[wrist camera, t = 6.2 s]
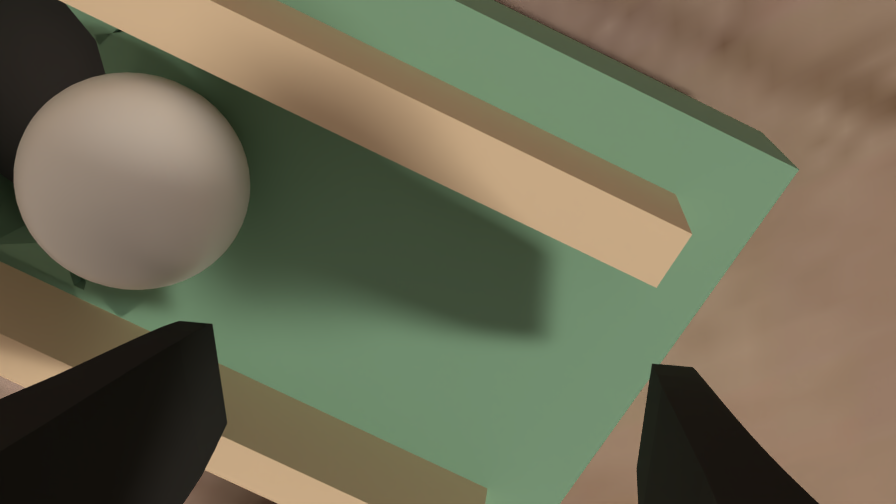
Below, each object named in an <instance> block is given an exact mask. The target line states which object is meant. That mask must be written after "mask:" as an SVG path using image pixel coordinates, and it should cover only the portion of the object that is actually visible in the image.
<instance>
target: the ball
mask: <svg viewBox="0 0 896 504" xmlns="http://www.w3.org/2000/svg"><path fill="white" fill-rule="evenodd" d="M14 190H15V196H16V202H17V205H18V207H19V210H20V213H21V216H22V219H23V221H24V223H25V225H26V226H27V228H28V230H29V232H30V234H31V235H32V236H33V238H34V239H35V240H36V242H37V243H38V244H39V246H40V247H41V248H42V249H43V250H44V251H45V252H46V253H47V254H48V255H49V256H50V257H51V258H52V259H53V260H55V261H56V262H57V263H59V264H60V265H61V266H62V267H64V268H65V269H67V270H69V271H70V272H72V273H74V274H75V275H77V276H79V277H82V278H84V279H86V280H89V281H91V282H94V283H97V284H101V285H104V286H108V287H113V288H119V289H127V290H145V289H155V288H160V287H165V286H170V285H173V284H176V283H179V282H182V281H185V280H187V279H189V278H191V277H193V276H195V275H197V274H199V273H200V272H202V271H203V270H204V269H206V268H207V267H209V266H210V265H212V264H213V263H214V262H215V261H216V260H217V259H218V258H219V257H220V256H222V255H223V253H224V252H225V251H226V250H227V249H228V248H229V246H230V245H231V244H232V242H233V241H234V239H235V238H236V236H237V234H238V232H239V230H240V228H241V226H242V224H243V221H244V218H245V216H246V213H247V209H248V203H249V198H250V175H249V167H248V163H247V158H246V155H245V152H244V149H243V147H242V144H241V142H240V140H239V138H238V136H237V134H236V133H235V131H234V129H233V128H232V127H231V125H230V124H229V122H228V121H227V119H226V118H225V117H224V116H223V115H222V114H221V113H220V111H219V110H218V109H217V108H216V107H215V106H214V105H212V104H211V103H210V102H209V101H208V100H206V99H205V98H204V97H202V96H201V95H199V94H198V93H196V92H195V91H193V90H191V89H189V88H187V87H185V86H183V85H181V84H179V83H177V82H175V81H172V80H169V79H166V78H163V77H160V76H155V75H150V74H144V73H130V72H123V73H110V74H104V75H100V76H95V77H91V78H88V79H86V80H83V81H80V82H78V83H76V84H73V85H71V86H69V87H68V88H66V89H64V90H63V91H61V92H60V93H58V94H57V95H55V96H54V97H53V98H51V99H50V100H49V101H48V102H47V103H45V104H44V105H43V106H42V107H41V109H40V110H39V111H38V112H37V113H36V114H35V116H34V117H33V118H32V120H31V121H30V123H29V124H28V126H27V128H26V129H25V132H24V134H23V136H22V138H21V140H20V143H19V146H18V149H17V153H16V158H15V163H14Z"/></svg>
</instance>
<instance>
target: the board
mask: <svg viewBox="0 0 896 504" xmlns="http://www.w3.org/2000/svg"><path fill="white" fill-rule="evenodd" d="M123 72H130V73H144V74H150V75H155V76H160V77H163V78H166V79H169V80H172V81H175V82H177V83H179V84H181V85H183V86H185V87H187V88H189V89H191V90H193V91H195V92H196V93H198V94H199V95H201V96H202V97H204V98H205V99H206V100H208V101H209V102H210V103H211V104H212V105H214V106H215V107H216V108H217V109H218V110H219V111H220V113H221V114H222V115H223V116H224V117H225V118H226V119H227V121H228V122H229V124H230V125H231V127H232V128H233V129H234V131H235V133H236V134H237V136H238V138H239V140H240V142H241V144H242V147H243V149H244V152H245V155H246V158H247V163H248V167H249V175H250V198H249V203H248V209H247V213H246V216H245V218H244V221H243V224H242V226H241V228H240V230H239V232H238V234H237V236H236V238H235V239H234V241H233V242H232V244H231V245H230V246H229V248H228V249H227V250H226V251H225V252H224V253H223V255H222V256H220V257H219V258H218V259H217V260H216V261H215V262H214V263H213V264H212V265H210V266H209V267H207V268H206V269H204V270H203V271H202V272H200V273H199V274H197V275H195V276H193V277H191V278H189V279H187V280H185V281H182V282H179V283H176V284H173V285H170V286H165V287H160V288H155V289H145V290H127V289H119V288H113V287H108V286H104V285H101V284H97V283H94V282H91V281H89V280H86V279H84V278H82V277H79V276H77V275H75V274H74V273H72V272H70V271H69V270H67V269H65V268H64V267H62V266H61V265H60V264H59V263H57V262H56V261H55V260H53V259H52V258H51V257H50V256H49V255H48V254H47V253H46V252H45V251H44V250H43V249H42V248H41V247H40V246H39V244H38V243H37V242H36V240H35V239H34V238H33V236H32V235H31V234H30V232H29V230H28V228H27V226H26V225H25V223H24V221H23V219H22V216H21V213H20V210H19V207H18V205H17V202H16V196H15V190H14V163H15V158H16V153H17V149H18V146H19V143H20V140H21V138H22V136H23V134H24V132H25V129H26V128H27V126H28V124H29V123H30V121H31V120H32V118H33V117H34V116H35V114H36V113H37V112H38V111H39V110H40V109H41V107H42V106H43V105H44V104H45V103H47V102H48V101H49V100H50V99H51V98H53V97H54V96H55V95H57V94H58V93H60V92H61V91H63V90H64V89H66V88H68V87H69V86H71V85H73V84H76V83H78V82H80V81H83V80H86V79H88V78H91V77H95V76H100V75H104V74H110V73H123ZM798 170H799V169H798V168H797V167H796V166H795V165H794V164H793V163H792V162H791V161H790V160H789V159H788V158H787V157H786V156H785V155H784V154H783V153H782V152H781V151H780V150H779V149H778V148H777V147H776V146H775V145H774V144H773V143H772V142H771V141H770V140H769V139H768V138H767V137H766V136H765V135H764V134H763V133H762V132H760V131H758V130H756V129H754V128H752V127H750V126H748V125H746V124H744V123H742V122H740V121H738V120H736V119H734V118H732V117H730V116H728V115H725V114H723V113H721V112H719V111H717V110H715V109H713V108H711V107H709V106H707V105H705V104H703V103H701V102H699V101H697V100H695V99H693V98H691V97H689V96H687V95H685V94H683V93H681V92H679V91H677V90H675V89H673V88H671V87H669V86H667V85H665V84H663V83H661V82H658V81H656V80H654V79H652V78H650V77H648V76H646V75H644V74H642V73H640V72H638V71H636V70H634V69H632V68H630V67H628V66H626V65H624V64H622V63H620V62H618V61H616V60H614V59H612V58H610V57H608V56H606V55H604V54H602V53H600V52H598V51H596V50H594V49H591V48H589V47H587V46H585V45H583V44H581V43H579V42H577V41H575V40H573V39H571V38H569V37H567V36H565V35H563V34H561V33H559V32H557V31H555V30H553V29H551V28H549V27H547V26H545V25H543V24H541V23H539V22H537V21H535V20H533V19H531V18H529V17H527V16H524V15H522V14H520V13H518V12H516V11H514V10H512V9H510V8H508V7H506V6H504V5H502V4H500V3H498V2H496V1H494V0H0V376H1V377H4V378H6V379H8V380H10V381H12V382H14V383H17V384H19V385H21V386H23V387H25V388H27V387H29V386H32V385H34V384H36V383H39V382H41V381H43V380H46V379H48V378H50V377H53V376H55V375H57V374H60V373H62V372H64V371H66V370H68V369H70V368H73V367H75V366H77V365H79V364H81V363H83V362H85V361H88V360H90V359H92V358H94V357H96V356H98V355H100V354H103V353H105V352H107V351H109V350H111V349H113V348H115V347H118V346H120V345H122V344H124V343H126V342H128V341H131V340H133V339H135V338H137V337H139V336H142V335H144V334H146V333H148V332H151V331H153V330H155V329H158V328H160V327H163V326H165V325H168V324H171V323H174V322H177V321H188V322H199V323H210V324H213V330H214V337H215V344H216V350H217V357H218V364H219V370H220V377H221V384H222V390H223V397H224V404H225V410H226V417H227V425H226V427H225V429H224V432H223V434H222V436H221V438H220V440H219V442H218V444H217V447H216V449H215V451H214V453H213V455H212V457H211V459H210V461H209V463H208V464H207V466H206V468H205V470H206V471H208V472H210V473H212V474H214V475H217V476H219V477H221V478H223V479H225V480H227V481H230V482H232V483H234V484H236V485H238V486H240V487H243V488H245V489H247V490H249V491H251V492H253V493H256V494H258V495H260V496H262V497H264V498H267V499H269V500H271V501H273V502H275V503H277V504H560V503H561V501H562V500H563V499H564V497H565V496H566V494H567V493H568V492H569V490H570V489H571V487H572V486H573V485H574V483H575V482H576V480H577V479H578V478H579V476H580V475H581V473H582V472H583V471H584V469H585V468H586V466H587V465H588V464H589V462H590V461H591V459H592V458H593V457H594V455H595V454H596V453H597V451H598V450H599V448H600V447H601V446H602V444H603V443H604V441H605V440H606V439H607V437H608V436H609V434H610V433H611V432H612V430H613V429H614V427H615V426H616V425H617V423H618V422H619V420H620V419H621V418H622V416H623V415H624V413H625V412H626V411H627V409H628V408H629V406H630V405H631V404H632V402H633V401H634V399H635V398H636V397H637V395H638V394H639V392H640V391H641V390H642V388H643V387H644V385H645V384H646V383H647V381H648V380H649V379H650V373H651V366H652V364H660V363H661V362H662V360H663V359H664V358H665V356H666V355H667V353H668V352H669V351H670V349H671V348H672V346H673V345H674V344H675V342H676V341H677V339H678V338H679V337H680V335H681V334H682V332H683V331H684V330H685V328H686V327H687V325H688V324H689V323H690V321H691V320H692V318H693V317H694V316H695V314H696V313H697V311H698V310H699V309H700V307H701V306H702V305H703V303H704V302H705V300H706V299H707V298H708V296H709V295H710V293H711V292H712V291H713V289H714V288H715V286H716V285H717V284H718V282H719V281H720V279H721V278H722V277H723V275H724V274H725V272H726V271H727V270H728V268H729V267H730V265H731V264H732V263H733V261H734V260H735V258H736V257H737V256H738V254H739V253H740V251H741V250H742V249H743V247H744V246H745V244H746V243H747V242H748V240H749V239H750V237H751V236H752V235H753V233H754V232H755V230H756V229H757V228H758V226H759V225H760V224H761V222H762V221H763V219H764V218H765V217H766V215H767V214H768V212H769V211H770V210H771V208H772V207H773V205H774V204H775V203H776V201H777V200H778V198H779V197H780V196H781V194H782V193H783V191H784V190H785V189H786V187H787V186H788V184H789V183H790V182H791V180H792V179H793V177H794V176H795V175H796V173H797V172H798Z"/></svg>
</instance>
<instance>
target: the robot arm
mask: <svg viewBox="0 0 896 504" xmlns="http://www.w3.org/2000/svg"><path fill="white" fill-rule="evenodd" d="M226 425H227V417H226V410H225V404H224V397H223V390H222V384H221V377H220V370H219V364H218V357H217V350H216V344H215V337H214V330H213V324H210V323H199V322H188V321H177V322H174V323H171V324H168V325H165V326H163V327H160V328H158V329H155V330H153V331H151V332H148V333H146V334H144V335H142V336H139V337H137V338H135V339H133V340H131V341H128V342H126V343H124V344H122V345H120V346H118V347H115V348H113V349H111V350H109V351H107V352H105V353H103V354H100V355H98V356H96V357H94V358H92V359H90V360H88V361H85V362H83V363H81V364H79V365H77V366H75V367H73V368H70V369H68V370H66V371H64V372H62V373H60V374H57V375H55V376H53V377H50V378H48V379H46V380H43V381H41V382H39V383H36V384H34V385H32V386H29V387H27V388H25V389H22V390H20V391H18V392H15V393H13V394H11V395H8V396H6V397H4V398H2V399H0V504H183V503H184V502H185V500H186V499H187V497H188V496H189V494H190V493H191V491H192V490H193V488H194V487H195V485H196V484H197V482H198V480H199V479H200V477H201V476H202V474H203V472H204V470H205V468H206V466H207V464H208V463H209V461H210V459H211V457H212V455H213V453H214V451H215V449H216V447H217V444H218V442H219V440H220V438H221V436H222V434H223V432H224V429H225V427H226ZM637 487H638V504H819V503H818V502H816V501H815V500H814V499H813V498H812V497H811V496H810V495H809V494H808V493H807V492H806V491H805V490H804V489H803V488H802V487H801V486H800V485H799V484H798V483H797V482H796V481H795V480H794V479H793V478H792V477H790V476H789V475H788V474H787V473H786V472H785V471H784V470H783V469H782V468H781V467H780V466H779V465H778V463H777V462H776V461H775V460H774V459H773V458H772V457H771V456H770V455H769V454H768V453H767V452H766V451H765V450H764V449H763V448H762V447H761V446H760V444H759V443H758V442H757V441H756V440H755V439H754V438H753V437H752V436H751V435H750V434H749V432H748V431H747V430H746V429H745V428H744V427H743V426H742V424H741V423H740V422H739V421H738V420H737V419H736V417H735V416H734V415H733V414H732V413H731V412H730V410H729V409H728V408H727V407H726V406H725V405H724V403H723V402H722V401H721V400H720V399H719V397H718V396H717V395H716V394H715V393H714V391H713V390H712V389H711V388H710V387H709V385H708V384H707V383H706V382H705V381H704V379H703V378H702V377H701V376H700V375H699V374H698V372H697V371H696V370H695V369H694V368H693V367H684V366H673V365H662V364H652V366H651V373H650V380H649V387H648V394H647V401H646V408H645V415H644V422H643V429H642V435H641V442H640V449H639V456H638V463H637Z"/></svg>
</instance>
